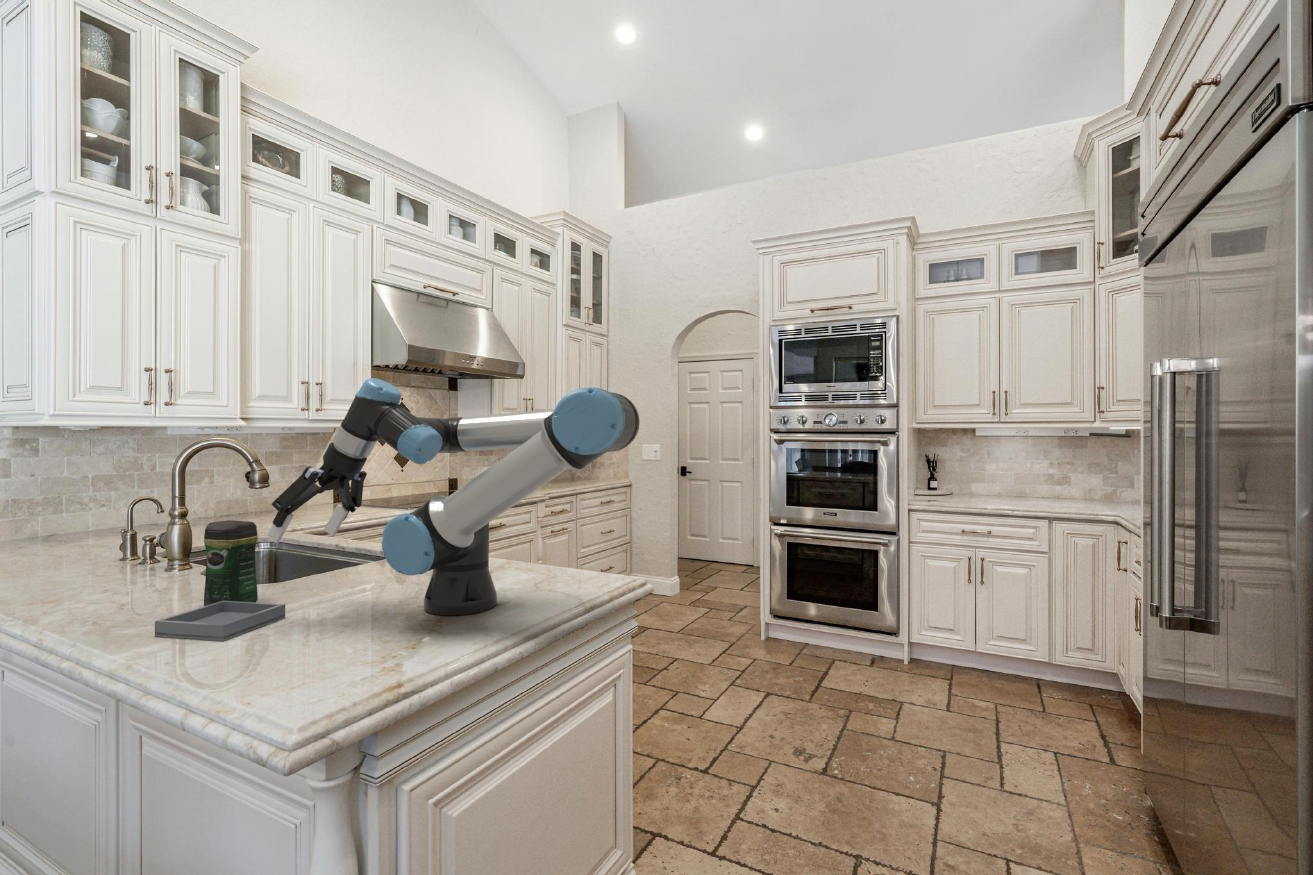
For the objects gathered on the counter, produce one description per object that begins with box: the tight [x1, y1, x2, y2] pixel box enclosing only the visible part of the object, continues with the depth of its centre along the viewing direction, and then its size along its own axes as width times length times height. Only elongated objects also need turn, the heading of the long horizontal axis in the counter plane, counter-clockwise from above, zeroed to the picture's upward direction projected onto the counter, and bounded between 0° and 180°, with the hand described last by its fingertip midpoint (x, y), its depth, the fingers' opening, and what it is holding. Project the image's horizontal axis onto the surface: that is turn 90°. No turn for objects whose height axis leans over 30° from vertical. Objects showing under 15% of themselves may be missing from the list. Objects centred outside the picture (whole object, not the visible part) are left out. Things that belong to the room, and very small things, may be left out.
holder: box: [154, 601, 286, 642], centre depth 120 cm, size 15×15×3 cm
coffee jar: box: [203, 519, 259, 607], centre depth 135 cm, size 10×8×19 cm
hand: (302, 535), depth 128 cm, fingers open, 13 cm apart
